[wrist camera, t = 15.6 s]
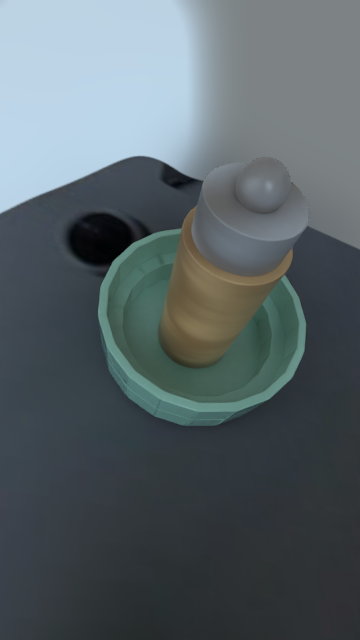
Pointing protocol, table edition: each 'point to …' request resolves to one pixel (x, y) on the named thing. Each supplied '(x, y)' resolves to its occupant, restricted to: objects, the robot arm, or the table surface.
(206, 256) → the pepper mill
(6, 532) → the table surface
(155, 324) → the green shallow bowl
